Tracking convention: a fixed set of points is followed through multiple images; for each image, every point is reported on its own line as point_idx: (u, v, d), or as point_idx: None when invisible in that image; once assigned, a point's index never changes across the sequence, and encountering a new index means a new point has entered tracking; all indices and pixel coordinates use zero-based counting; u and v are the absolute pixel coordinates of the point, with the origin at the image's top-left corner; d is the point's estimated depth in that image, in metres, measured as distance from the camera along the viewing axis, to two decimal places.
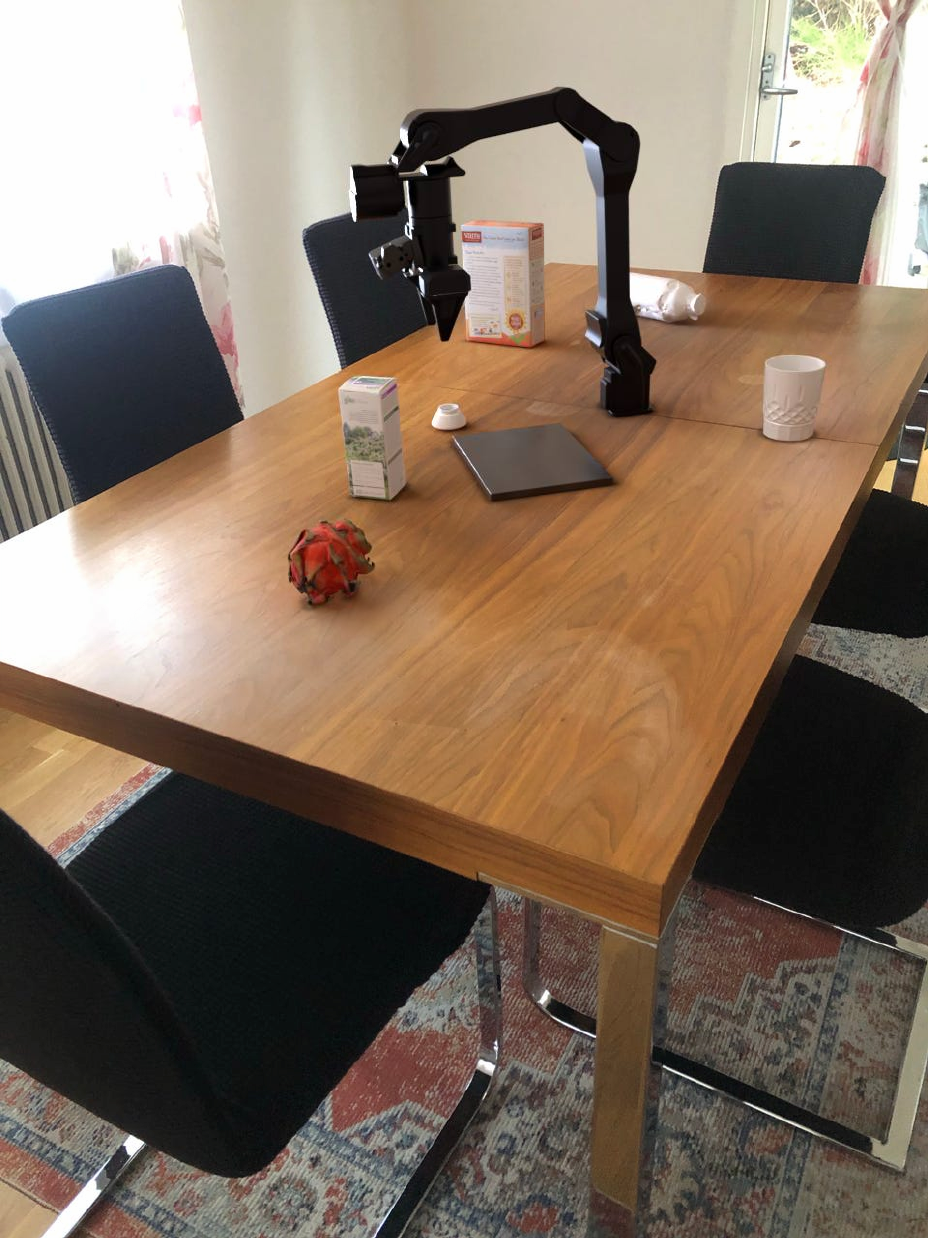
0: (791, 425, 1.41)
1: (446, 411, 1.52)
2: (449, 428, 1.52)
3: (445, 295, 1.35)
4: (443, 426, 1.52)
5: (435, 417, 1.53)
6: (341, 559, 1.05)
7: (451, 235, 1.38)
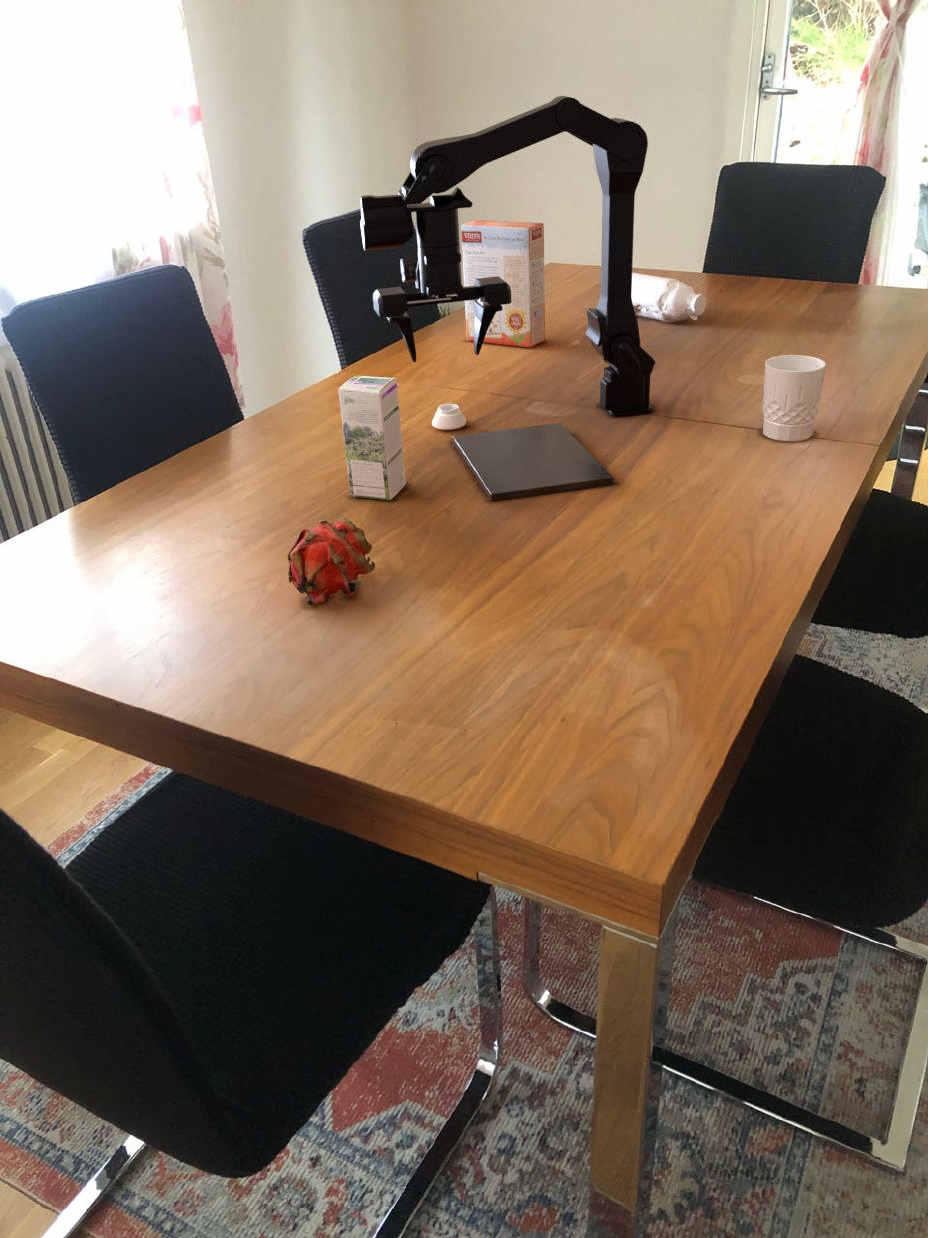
0: (791, 425, 1.41)
1: (446, 411, 1.52)
2: (449, 428, 1.52)
3: None
4: (443, 426, 1.52)
5: (435, 417, 1.53)
6: (341, 559, 1.05)
7: (431, 267, 1.40)
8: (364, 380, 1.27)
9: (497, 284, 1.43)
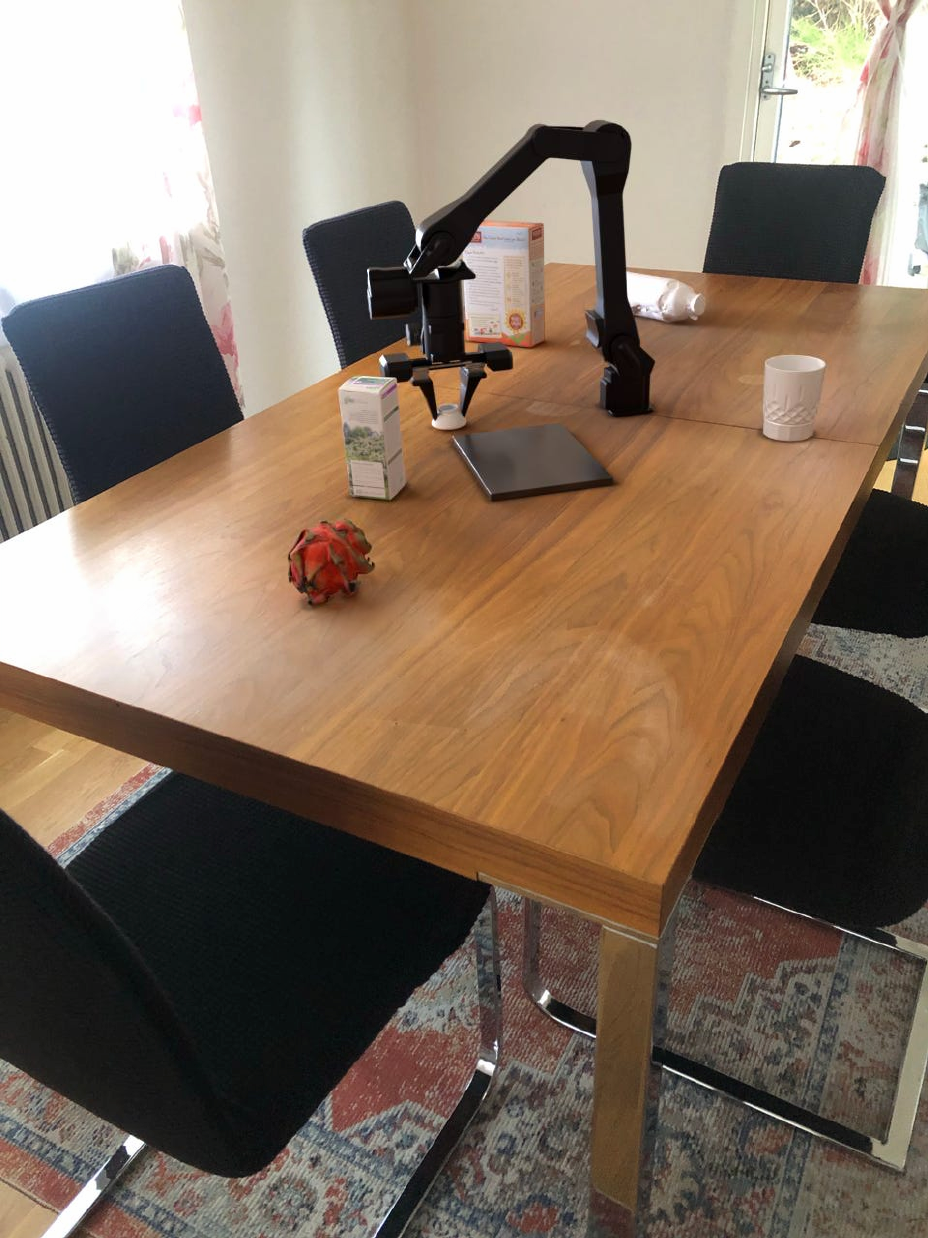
0: (791, 425, 1.41)
1: (446, 411, 1.52)
2: (449, 428, 1.52)
3: None
4: (443, 426, 1.52)
5: None
6: (341, 559, 1.05)
7: (436, 336, 1.45)
8: (364, 380, 1.27)
9: (499, 351, 1.48)
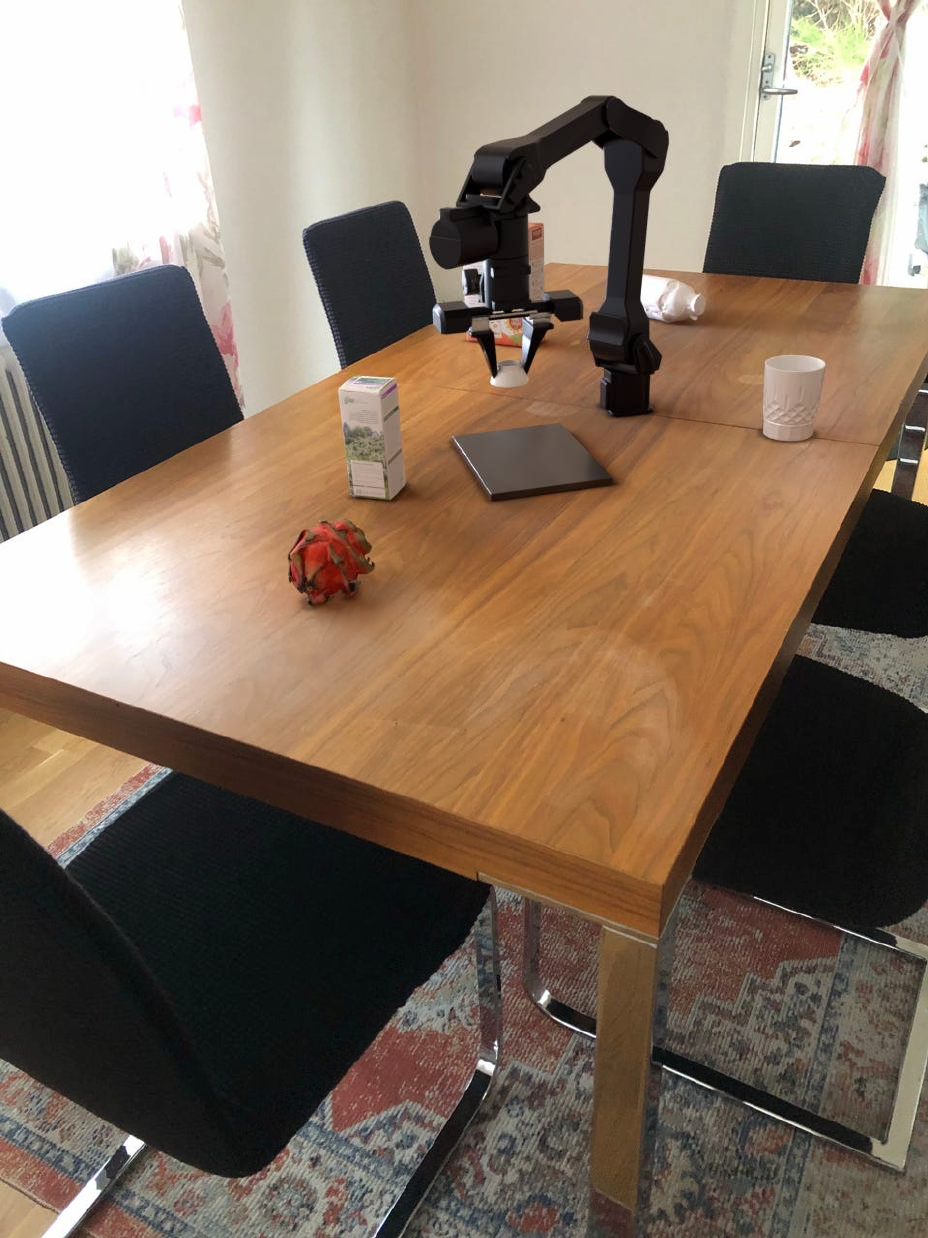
0: (791, 425, 1.41)
1: (507, 367, 1.35)
2: (510, 386, 1.36)
3: None
4: (503, 384, 1.36)
5: None
6: (341, 559, 1.05)
7: (498, 280, 1.29)
8: (364, 380, 1.27)
9: (568, 298, 1.32)
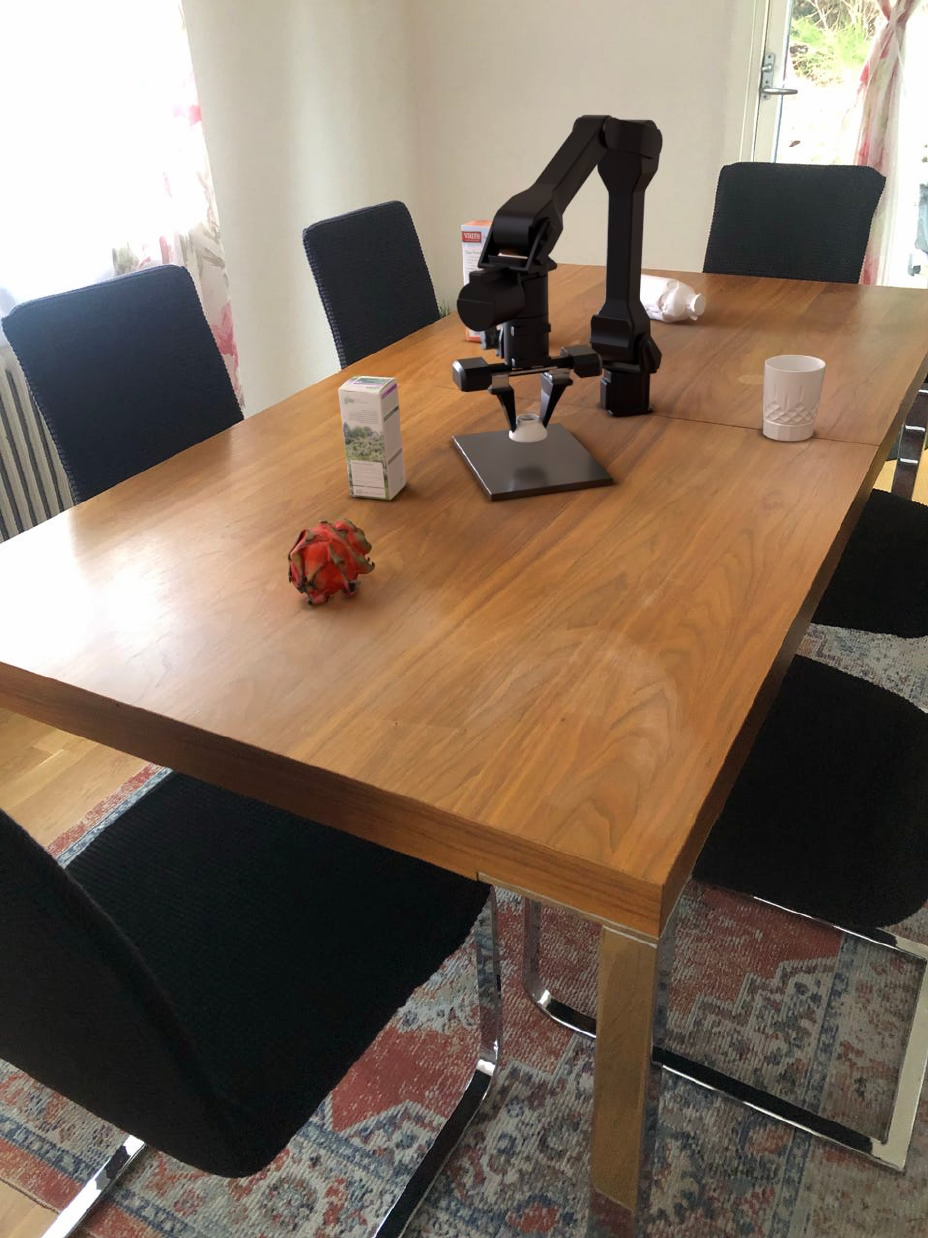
0: (791, 425, 1.41)
1: (526, 422, 1.36)
2: (529, 441, 1.36)
3: None
4: (522, 439, 1.36)
5: None
6: (341, 559, 1.05)
7: (519, 339, 1.29)
8: (364, 380, 1.27)
9: (588, 355, 1.32)
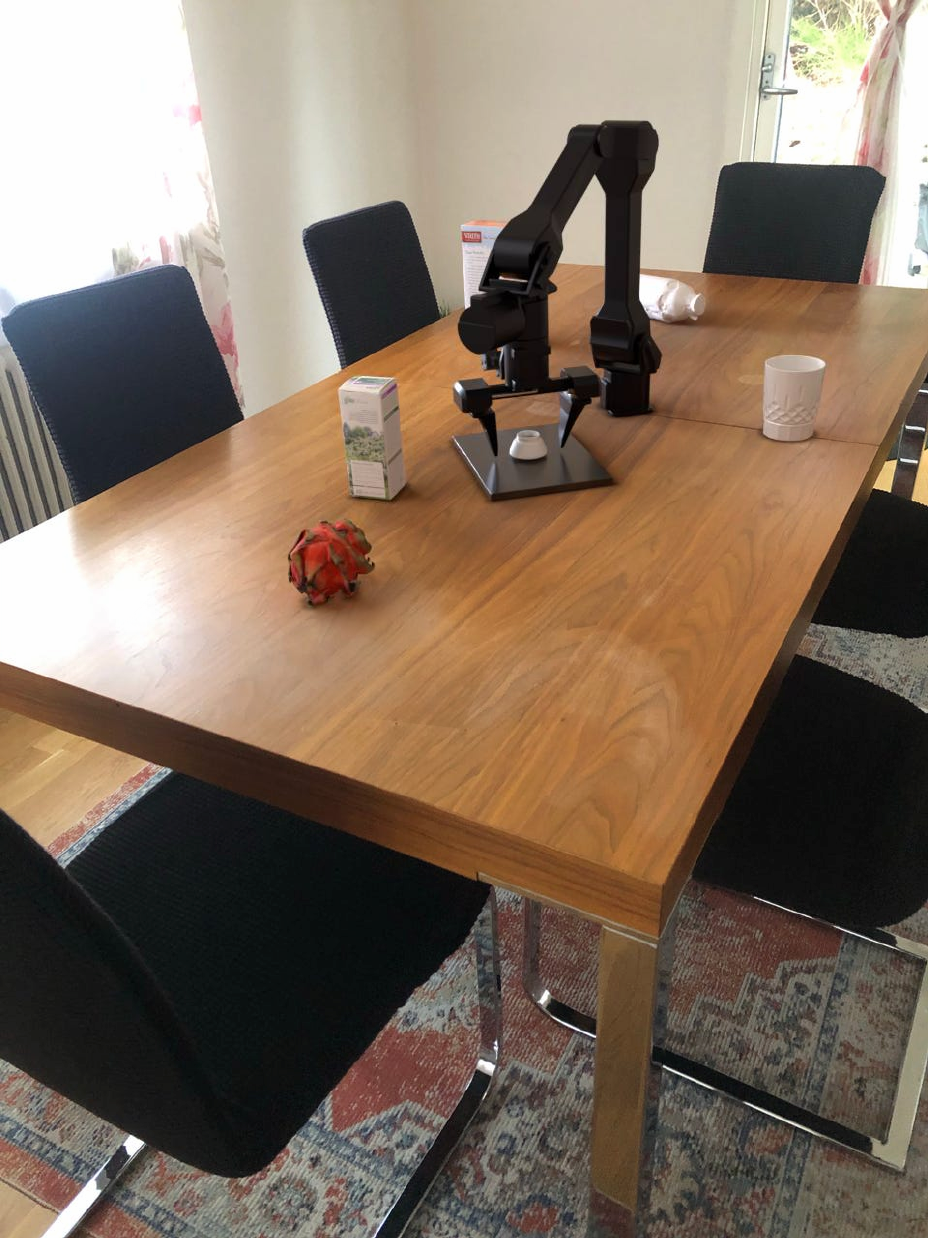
0: (791, 425, 1.41)
1: (527, 439, 1.37)
2: (530, 458, 1.37)
3: None
4: (523, 456, 1.37)
5: (514, 445, 1.38)
6: (341, 559, 1.05)
7: (519, 361, 1.31)
8: (364, 380, 1.27)
9: (587, 376, 1.34)
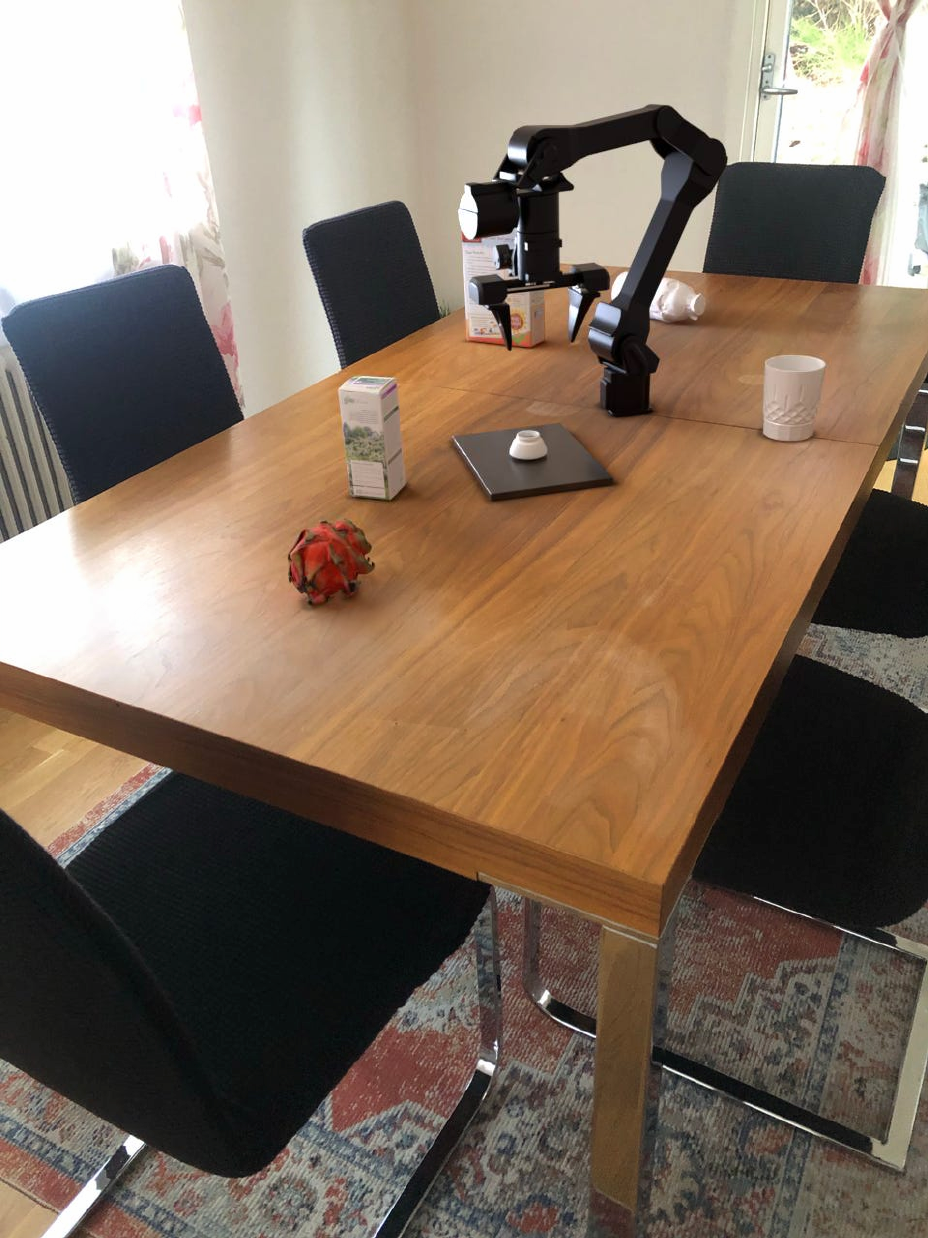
0: (791, 425, 1.41)
1: (527, 439, 1.37)
2: (530, 458, 1.37)
3: None
4: (523, 456, 1.37)
5: (514, 445, 1.38)
6: (341, 559, 1.05)
7: (532, 254, 1.37)
8: (364, 380, 1.27)
9: (596, 270, 1.41)
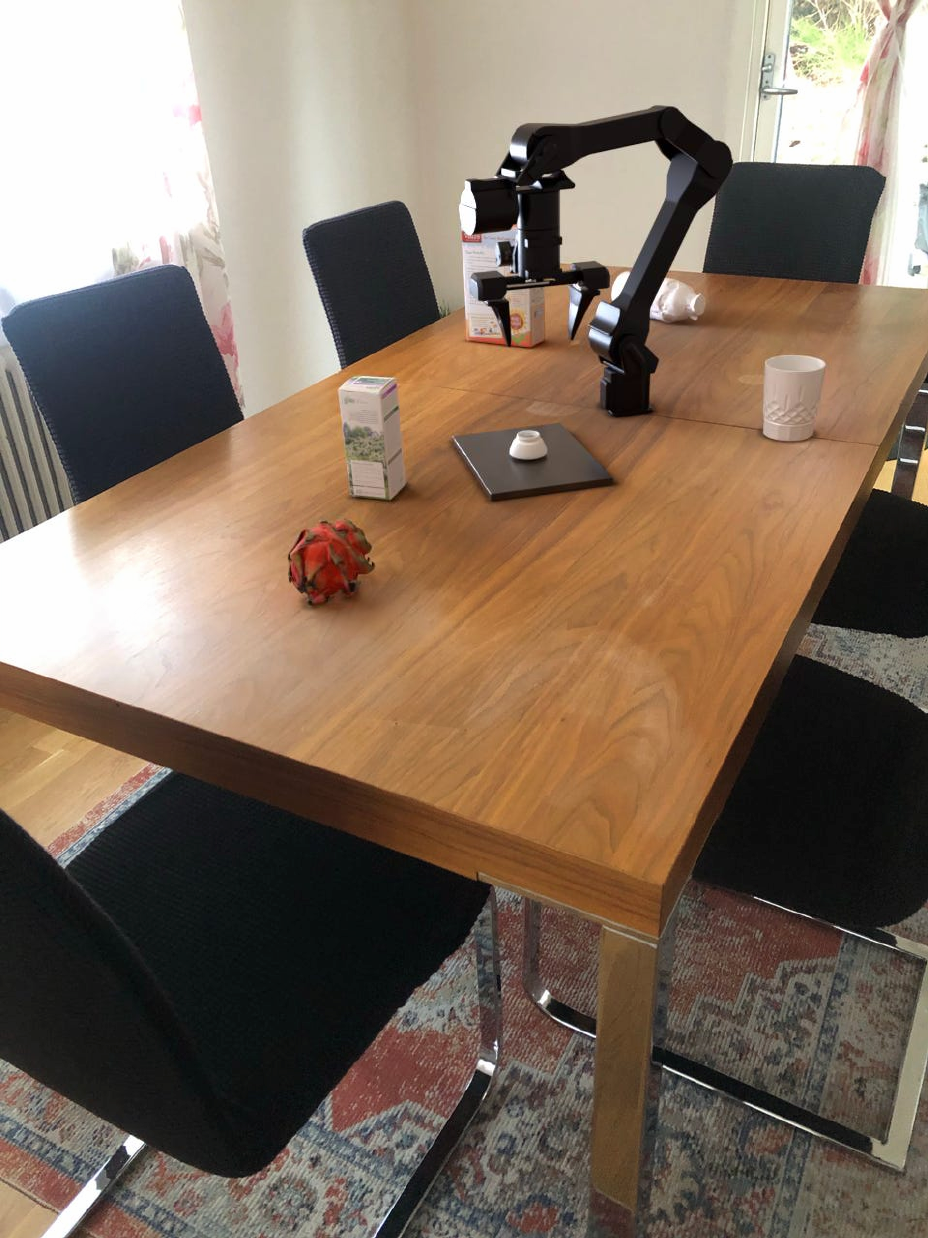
0: (791, 425, 1.41)
1: (527, 439, 1.37)
2: (530, 458, 1.37)
3: None
4: (523, 456, 1.37)
5: (514, 445, 1.38)
6: (341, 559, 1.05)
7: (532, 251, 1.38)
8: (364, 380, 1.27)
9: (596, 268, 1.41)
